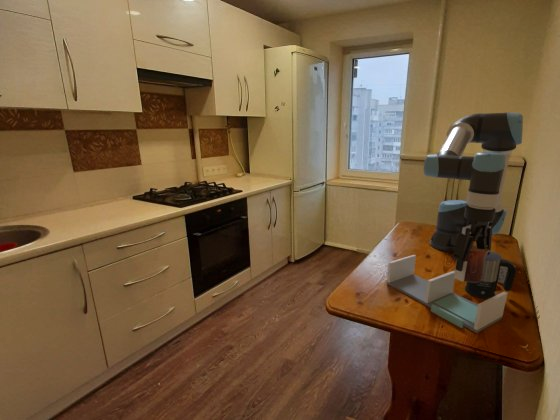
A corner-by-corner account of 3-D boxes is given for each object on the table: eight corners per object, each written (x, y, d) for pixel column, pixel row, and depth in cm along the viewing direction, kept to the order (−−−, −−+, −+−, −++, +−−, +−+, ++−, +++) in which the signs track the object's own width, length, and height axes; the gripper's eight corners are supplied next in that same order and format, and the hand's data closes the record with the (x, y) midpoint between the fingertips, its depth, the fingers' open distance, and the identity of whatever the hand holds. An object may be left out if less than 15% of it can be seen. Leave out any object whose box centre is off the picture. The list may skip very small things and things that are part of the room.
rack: (411, 275, 123) (413, 254, 120) (501, 318, 95) (507, 293, 93) (383, 284, 115) (386, 263, 113) (473, 335, 88) (478, 307, 85)
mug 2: (510, 286, 115) (514, 270, 113) (489, 280, 119) (492, 264, 118) (514, 277, 122) (518, 261, 120) (494, 271, 126) (498, 256, 125)
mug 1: (452, 273, 101) (454, 243, 100) (483, 278, 98) (486, 246, 96) (454, 284, 91) (457, 250, 90) (489, 290, 87) (493, 255, 86)
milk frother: (472, 298, 107) (479, 259, 103) (451, 277, 122) (457, 242, 118) (515, 300, 105) (524, 260, 102) (489, 278, 121) (496, 243, 117)
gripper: (487, 199, 98) (475, 264, 104) (445, 207, 88) (435, 279, 93) (513, 204, 92) (499, 273, 98) (472, 214, 81) (459, 290, 87)
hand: (467, 275), depth 96 cm, fingers closed on mug 1, 9 cm apart
